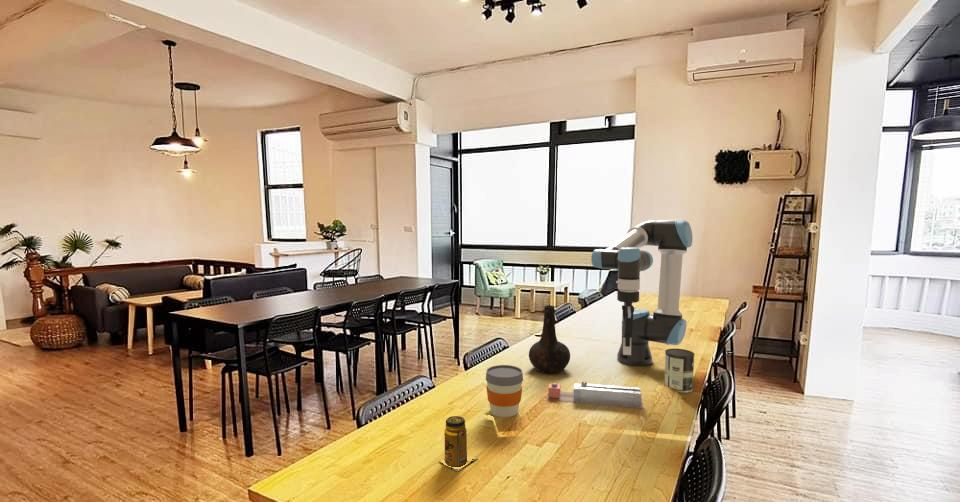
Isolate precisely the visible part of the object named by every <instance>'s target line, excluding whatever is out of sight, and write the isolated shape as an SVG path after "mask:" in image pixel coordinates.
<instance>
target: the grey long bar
mask: <svg viewBox="0 0 960 502" xmlns="http://www.w3.org/2000/svg"><path fill="white" fill-rule="evenodd" d="M573 393H574V395H573V402H575V403H574V404H582V403H590V404H589V405H593V404H601V405H600V406H604V405H612V406H611V407H615V406H623V407H622V408H626V407H634V408H633V409H636V408H641V399H642V396H643V395H642V391H641V392H639V391H627V390H615V389H603V388H591V387H582V383H578V382H577V383H576V382H575V383H573Z"/></svg>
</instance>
